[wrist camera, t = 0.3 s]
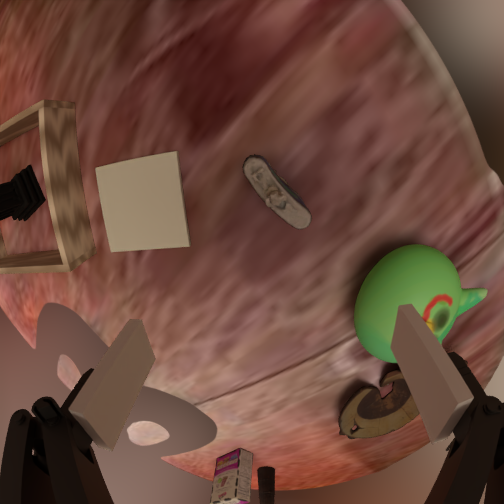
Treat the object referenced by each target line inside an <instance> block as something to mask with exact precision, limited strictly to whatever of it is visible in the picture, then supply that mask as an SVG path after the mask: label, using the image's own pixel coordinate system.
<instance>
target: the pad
mask: <svg viewBox="0 0 504 504" xmlns="http://www.w3.org/2000/svg"><path fill="white" fill-rule="evenodd" d="M95 170H96V177H97V183H98V190H99V196H100V201H101V207H102V212H103V217H104V222H105V227H106V232H107V236H108V241H109V245H110V249H111V252H120V251H133V250H147V249H162V248H176V247H190V245H191V242H190V235H189V229H188V222H187V216H186V209H185V202H184V194H183V187H182V179H181V171H180V162H179V153H178V151H174V152H168V153H162V154H157V155H151V156H146V157H141V158H136V159H131V160H127V161H122V162H118V163H113V164H109V165H105V166H101V167H97V168H95Z"/></svg>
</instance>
